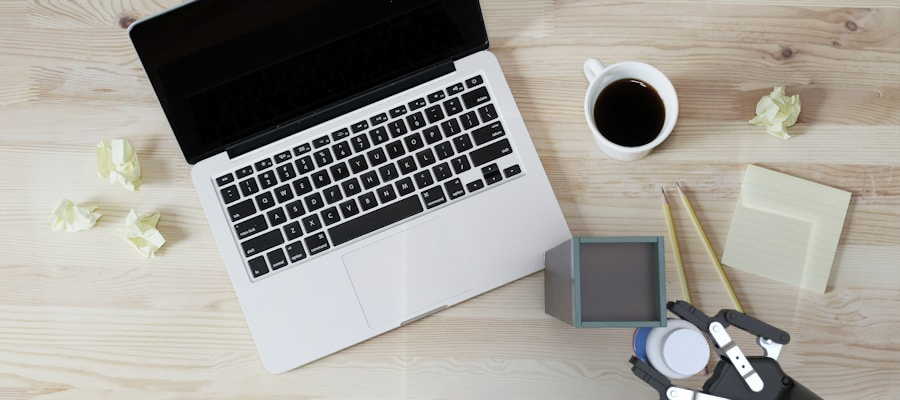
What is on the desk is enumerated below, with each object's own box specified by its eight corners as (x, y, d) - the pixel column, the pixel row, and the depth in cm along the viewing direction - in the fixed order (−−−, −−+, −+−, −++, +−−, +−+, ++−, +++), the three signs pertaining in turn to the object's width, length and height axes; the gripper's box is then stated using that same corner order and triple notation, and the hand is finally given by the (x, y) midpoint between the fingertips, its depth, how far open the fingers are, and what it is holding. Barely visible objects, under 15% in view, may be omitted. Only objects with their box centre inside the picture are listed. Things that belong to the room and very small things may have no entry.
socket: (661, 325, 60) (667, 327, 58) (572, 326, 61) (575, 327, 59) (658, 237, 61) (663, 236, 59) (570, 238, 61) (573, 236, 59)
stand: (606, 313, 87) (661, 325, 60) (544, 313, 87) (572, 326, 61) (604, 251, 88) (658, 237, 61) (543, 252, 88) (570, 238, 61)
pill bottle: (625, 363, 73) (647, 374, 64) (637, 310, 74) (660, 313, 64) (680, 377, 73) (710, 390, 63) (691, 323, 74) (723, 328, 64)
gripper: (875, 379, 63) (704, 265, 65) (785, 523, 62) (613, 403, 63) (833, 369, 70) (681, 267, 72) (752, 498, 69) (599, 391, 71)
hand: (650, 332), depth 68 cm, fingers closed on pill bottle, 5 cm apart
